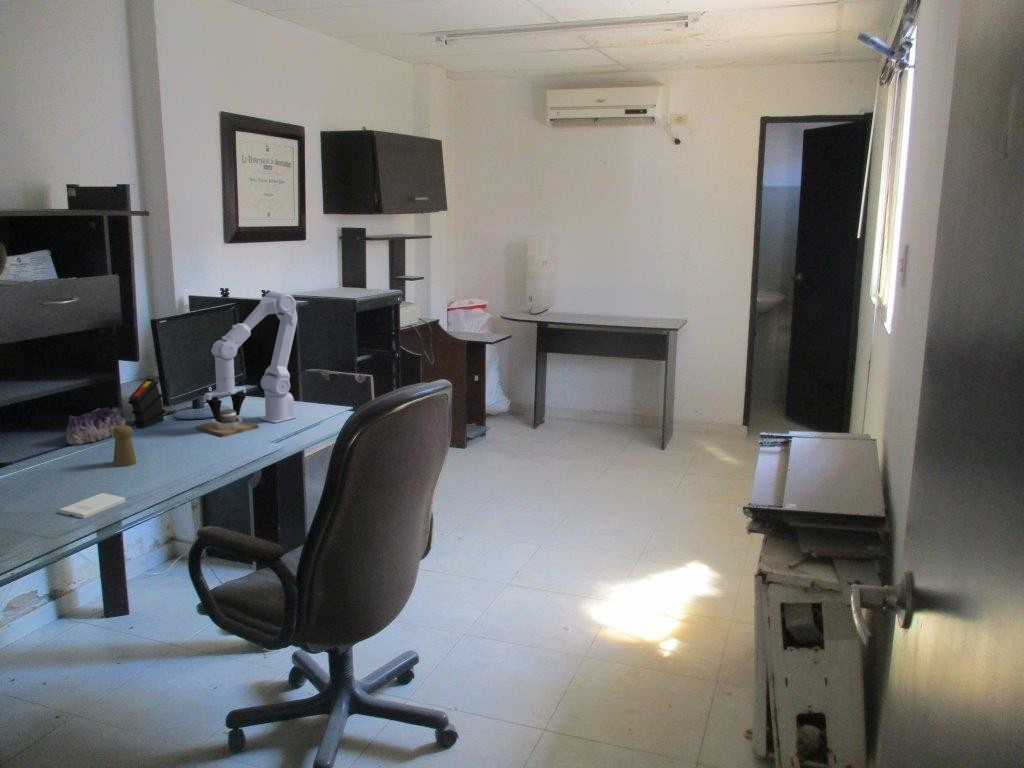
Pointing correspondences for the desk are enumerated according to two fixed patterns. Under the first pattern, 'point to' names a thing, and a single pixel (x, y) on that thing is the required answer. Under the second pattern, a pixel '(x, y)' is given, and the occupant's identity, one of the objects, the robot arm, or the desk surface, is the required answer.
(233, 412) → the charcoal lens
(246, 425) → the walnut board
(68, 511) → the external hard drive
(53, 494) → the desk surface
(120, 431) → the cork
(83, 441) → the geode
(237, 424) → the mount ring
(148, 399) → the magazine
